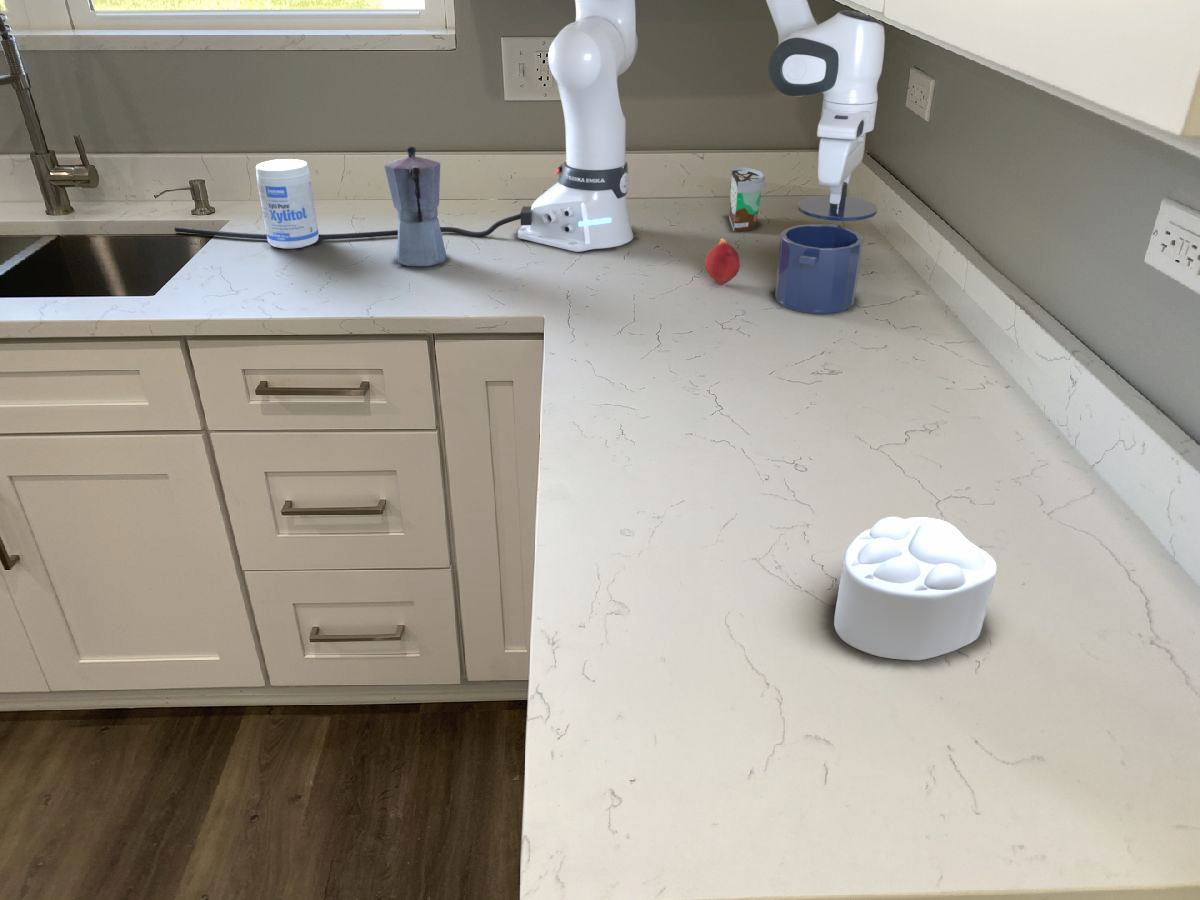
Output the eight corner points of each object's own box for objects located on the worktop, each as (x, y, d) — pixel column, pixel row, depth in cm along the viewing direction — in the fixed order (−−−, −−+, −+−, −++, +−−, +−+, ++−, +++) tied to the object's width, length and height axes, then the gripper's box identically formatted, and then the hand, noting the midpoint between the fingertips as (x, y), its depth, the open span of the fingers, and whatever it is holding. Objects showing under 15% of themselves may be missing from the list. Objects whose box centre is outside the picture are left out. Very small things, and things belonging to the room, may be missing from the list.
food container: (766, 233, 181) (770, 182, 175) (734, 233, 181) (738, 182, 175) (757, 215, 191) (761, 166, 186) (728, 215, 191) (731, 166, 186)
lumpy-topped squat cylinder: (997, 636, 83) (1019, 559, 78) (876, 676, 78) (892, 597, 74) (921, 569, 91) (937, 496, 86) (808, 602, 87) (819, 527, 82)
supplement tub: (275, 253, 172) (260, 173, 165) (262, 239, 179) (247, 162, 172) (327, 244, 176) (314, 166, 169) (312, 231, 183) (299, 155, 176)
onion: (737, 279, 159) (741, 233, 155) (738, 291, 155) (742, 244, 150) (703, 277, 160) (706, 232, 156) (703, 290, 155) (706, 243, 151)
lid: (788, 218, 160) (791, 188, 158) (808, 198, 171) (811, 170, 168) (868, 228, 156) (872, 197, 153) (882, 206, 166) (887, 177, 163)
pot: (761, 312, 147) (767, 248, 141) (790, 275, 161) (797, 216, 155) (840, 325, 142) (849, 259, 137) (863, 286, 156) (872, 225, 151)
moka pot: (442, 245, 176) (432, 137, 165) (457, 272, 163) (447, 156, 153) (391, 250, 173) (378, 141, 163) (403, 278, 160) (389, 161, 150)
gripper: (842, 105, 164) (833, 183, 171) (814, 128, 148) (805, 213, 155) (878, 107, 162) (867, 187, 169) (854, 131, 146) (843, 217, 153)
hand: (837, 199), depth 162 cm, fingers closed on lid, 2 cm apart
